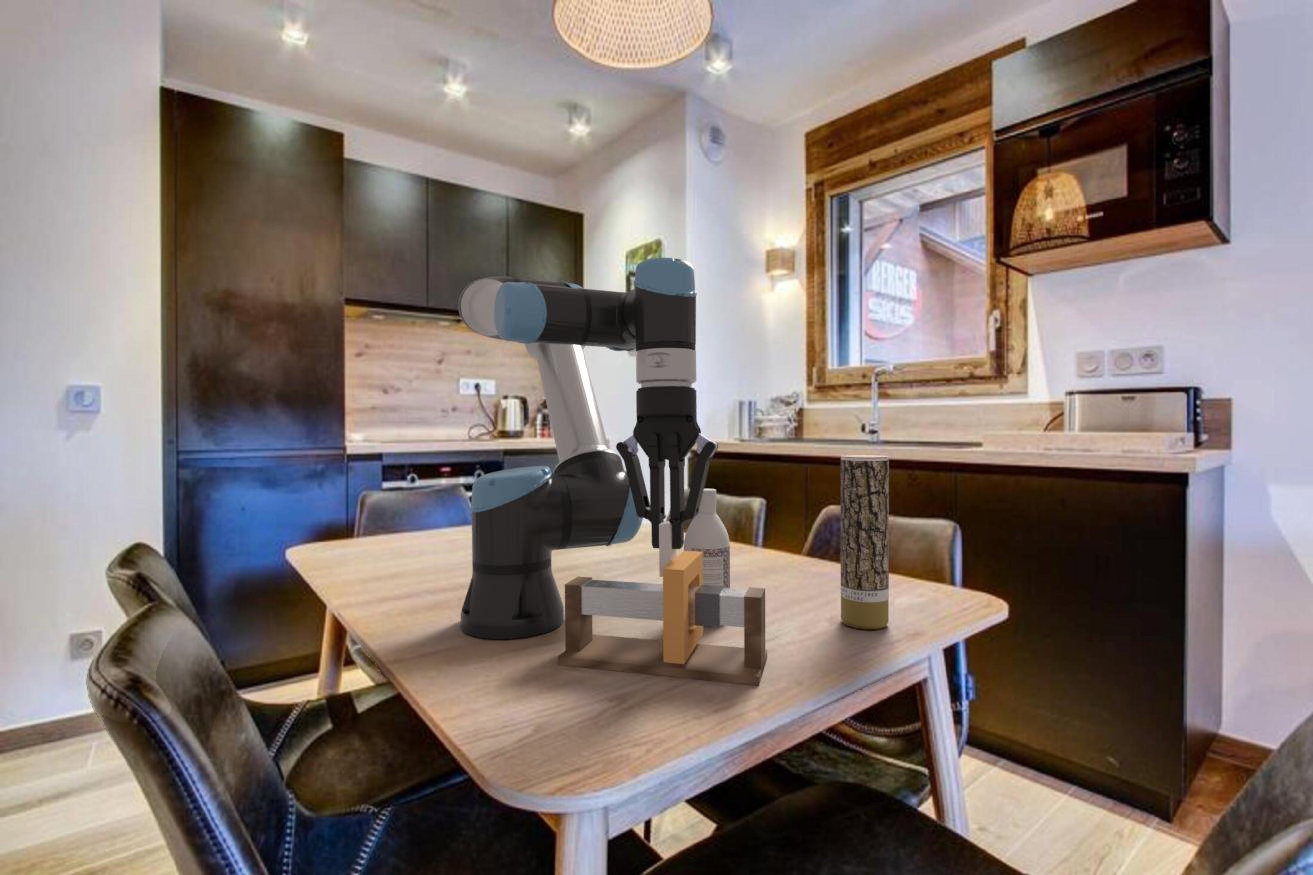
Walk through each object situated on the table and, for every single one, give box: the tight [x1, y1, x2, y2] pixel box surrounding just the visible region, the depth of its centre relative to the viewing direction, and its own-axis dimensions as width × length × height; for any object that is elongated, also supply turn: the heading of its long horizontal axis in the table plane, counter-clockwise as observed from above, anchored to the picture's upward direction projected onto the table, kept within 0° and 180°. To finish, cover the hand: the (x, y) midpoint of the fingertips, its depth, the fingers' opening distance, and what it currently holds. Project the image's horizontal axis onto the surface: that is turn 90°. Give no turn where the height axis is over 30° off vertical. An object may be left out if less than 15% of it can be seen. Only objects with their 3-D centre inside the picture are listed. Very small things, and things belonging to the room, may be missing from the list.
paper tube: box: [840, 454, 890, 631], centre depth 95 cm, size 7×7×25 cm
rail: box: [580, 579, 748, 628], centre depth 81 cm, size 22×4×4 cm, turn 74°
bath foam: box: [683, 488, 731, 588], centre depth 98 cm, size 7×7×20 cm
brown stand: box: [557, 576, 768, 686], centre depth 81 cm, size 25×9×10 cm, turn 74°
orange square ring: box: [662, 550, 704, 664], centre depth 80 cm, size 2×11×11 cm, turn 164°
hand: (668, 574), depth 80 cm, fingers closed
